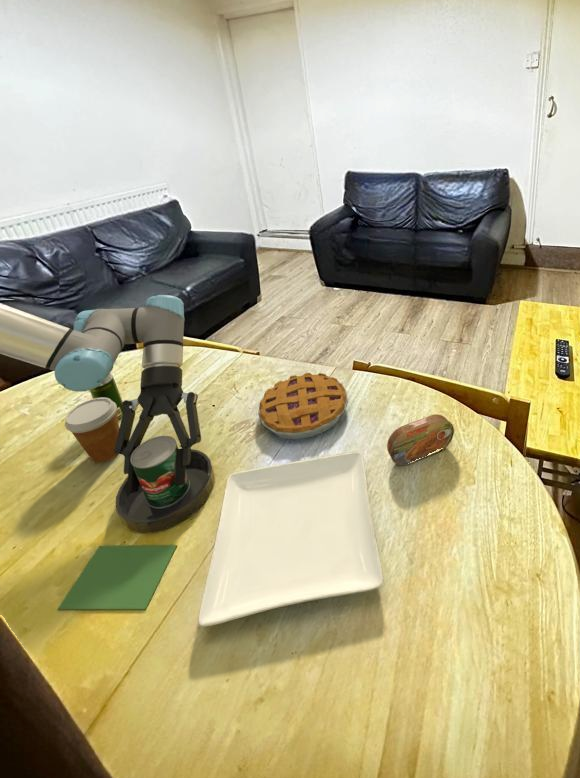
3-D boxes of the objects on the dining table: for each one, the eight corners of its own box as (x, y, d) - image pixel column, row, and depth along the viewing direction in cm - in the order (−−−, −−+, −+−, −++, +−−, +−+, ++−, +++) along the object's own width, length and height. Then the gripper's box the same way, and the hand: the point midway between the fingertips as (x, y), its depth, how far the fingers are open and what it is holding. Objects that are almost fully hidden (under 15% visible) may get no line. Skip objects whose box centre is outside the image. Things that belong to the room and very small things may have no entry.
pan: (99, 533, 75) (94, 522, 74) (150, 459, 91) (146, 449, 90) (192, 533, 75) (188, 521, 73) (227, 458, 90) (224, 447, 89)
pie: (336, 376, 116) (334, 361, 113) (360, 428, 97) (358, 411, 95) (256, 397, 109) (253, 381, 107) (265, 456, 90) (261, 439, 88)
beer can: (131, 412, 106) (116, 373, 101) (110, 425, 101) (94, 386, 96) (118, 406, 108) (103, 368, 103) (97, 419, 104) (80, 380, 99)
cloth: (57, 610, 64) (57, 608, 64) (99, 546, 73) (99, 545, 73) (145, 609, 63) (145, 608, 63) (177, 546, 72) (176, 544, 72)
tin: (392, 471, 85) (390, 440, 82) (386, 460, 88) (384, 430, 84) (454, 446, 90) (455, 416, 87) (446, 437, 93) (447, 407, 89)
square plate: (363, 461, 88) (361, 447, 86) (385, 600, 63) (384, 584, 61) (231, 484, 84) (227, 470, 82) (200, 641, 59) (194, 625, 58)
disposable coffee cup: (77, 474, 88) (56, 431, 83) (88, 444, 96) (69, 403, 91) (127, 460, 91) (110, 417, 86) (134, 431, 99) (118, 391, 94)
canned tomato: (186, 469, 88) (173, 429, 83) (193, 495, 81) (179, 454, 77) (145, 487, 84) (129, 446, 79) (148, 516, 78) (131, 474, 73)
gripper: (219, 365, 90) (219, 478, 82) (118, 377, 88) (108, 495, 80) (208, 358, 83) (207, 481, 75) (98, 371, 81) (85, 500, 73)
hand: (156, 488), depth 78 cm, fingers closed on canned tomato, 8 cm apart
